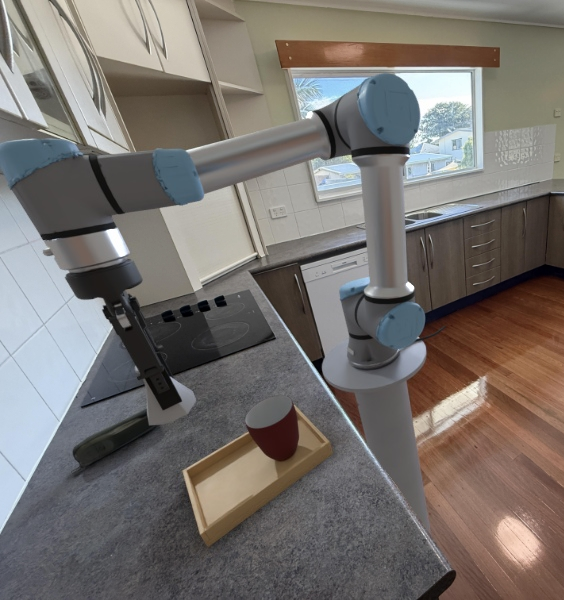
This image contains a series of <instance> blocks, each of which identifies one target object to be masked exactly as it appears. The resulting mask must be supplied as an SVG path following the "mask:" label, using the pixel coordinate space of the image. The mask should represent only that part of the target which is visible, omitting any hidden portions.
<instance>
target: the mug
mask: <svg viewBox="0 0 564 600" xmlns="http://www.w3.org/2000/svg"><path fill="white" fill-rule="evenodd" d="M294 405H295V404H294V402H293V399H292V398H291V397H289V396H288V395H283V394H282V395H281V394H279V395H273V396H269V397H266V398H265V399H262V400H260V401H259V402H257V403H256V404H254V405H253V406H252V407H251V408H250V409H249V410H248V411H247V413H246V415H245V417H244V425H245V427H246V429H247V432H249V434H250V436H251V437H252V439H253V440H254V441H255V443H256V444H257V445H258V447H259V448H260V449H261V450H262V452H263V453H264V454H265V455H266V456H268V457H269V458H271V459H274V460H276V461H285V460H288V459H289V458H291V457H292V456H293V455H294V453H295V451H296V449H297V445H298V441H299V428H298V420H297V413H296V409H295V407H294Z"/></svg>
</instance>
